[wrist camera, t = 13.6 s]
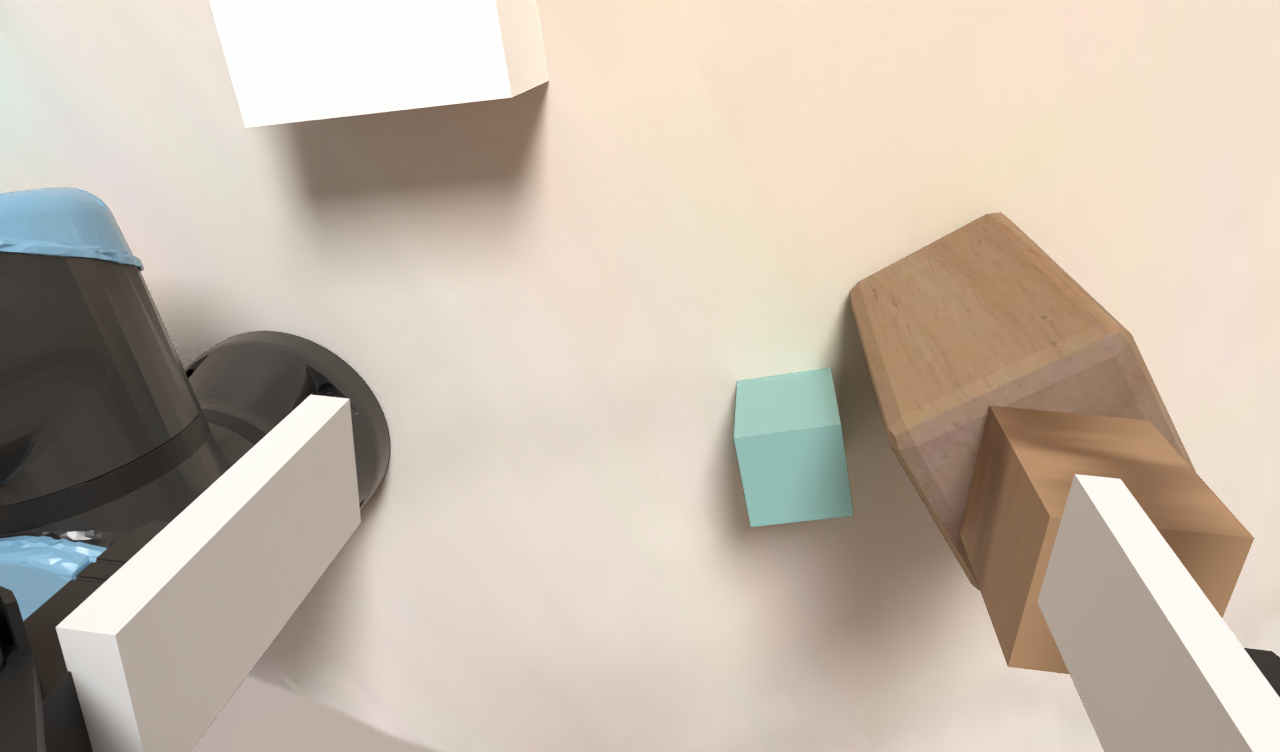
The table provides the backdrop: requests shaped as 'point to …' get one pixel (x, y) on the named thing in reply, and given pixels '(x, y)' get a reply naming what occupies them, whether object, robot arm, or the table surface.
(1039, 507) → the walnut block
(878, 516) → the table surface
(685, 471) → the table surface
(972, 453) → the block
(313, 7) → the tissue box
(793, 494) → the teal block
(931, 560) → the table surface
